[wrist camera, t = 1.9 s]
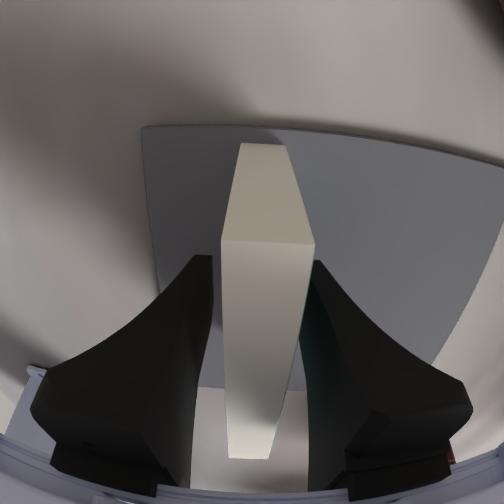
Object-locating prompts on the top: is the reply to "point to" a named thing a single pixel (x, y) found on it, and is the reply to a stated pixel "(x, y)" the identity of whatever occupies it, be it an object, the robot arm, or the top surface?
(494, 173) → the mat
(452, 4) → the top surface
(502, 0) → the plant saucer
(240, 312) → the slab
